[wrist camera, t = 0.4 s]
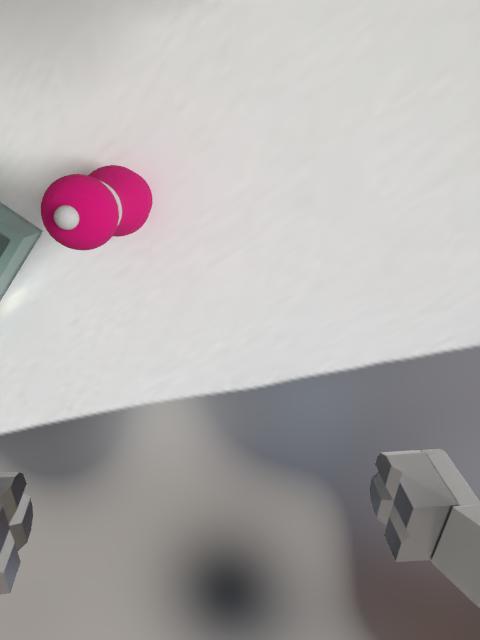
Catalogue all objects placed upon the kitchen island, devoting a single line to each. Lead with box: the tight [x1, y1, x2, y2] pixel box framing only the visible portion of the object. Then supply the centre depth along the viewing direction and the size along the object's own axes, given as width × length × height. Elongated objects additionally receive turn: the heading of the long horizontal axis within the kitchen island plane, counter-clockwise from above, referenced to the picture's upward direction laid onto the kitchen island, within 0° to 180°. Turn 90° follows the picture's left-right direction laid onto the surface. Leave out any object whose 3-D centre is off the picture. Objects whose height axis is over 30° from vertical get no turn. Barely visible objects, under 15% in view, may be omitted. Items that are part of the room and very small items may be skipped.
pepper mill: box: [41, 165, 152, 250], centre depth 42 cm, size 7×7×20 cm
